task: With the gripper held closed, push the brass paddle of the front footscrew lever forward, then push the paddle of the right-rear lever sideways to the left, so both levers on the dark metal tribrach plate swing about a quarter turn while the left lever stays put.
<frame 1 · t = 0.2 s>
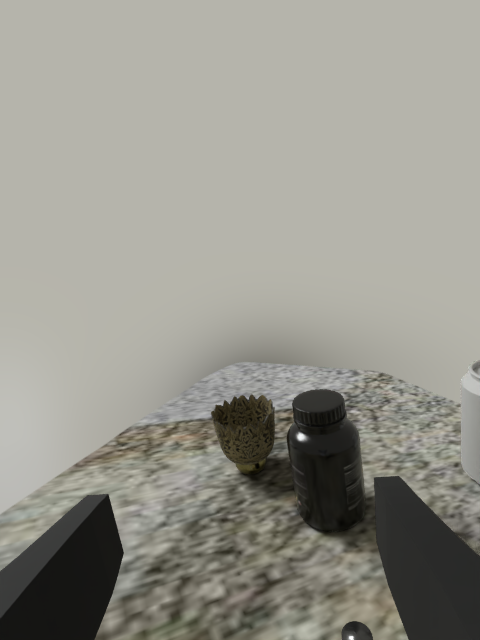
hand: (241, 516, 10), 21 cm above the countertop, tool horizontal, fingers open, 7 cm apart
cup: (251, 468, 48), on the countertop
supplement bottle: (330, 509, 39), on the countertop
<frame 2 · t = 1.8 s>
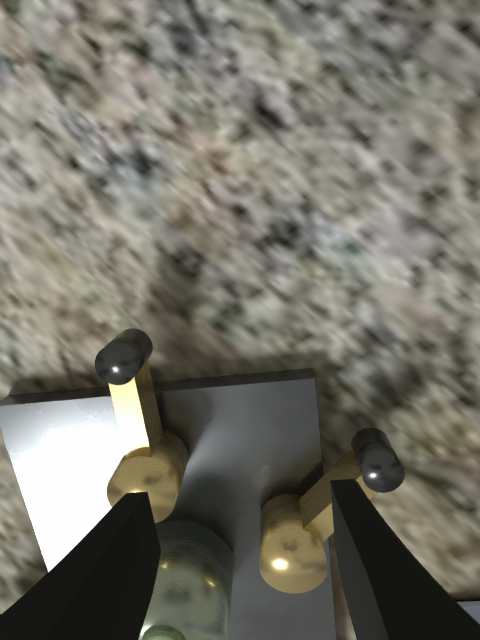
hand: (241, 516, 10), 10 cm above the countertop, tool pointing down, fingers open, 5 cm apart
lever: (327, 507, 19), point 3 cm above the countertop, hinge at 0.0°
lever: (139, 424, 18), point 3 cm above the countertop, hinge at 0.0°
tribrach plate: (187, 545, 24), on the countertop
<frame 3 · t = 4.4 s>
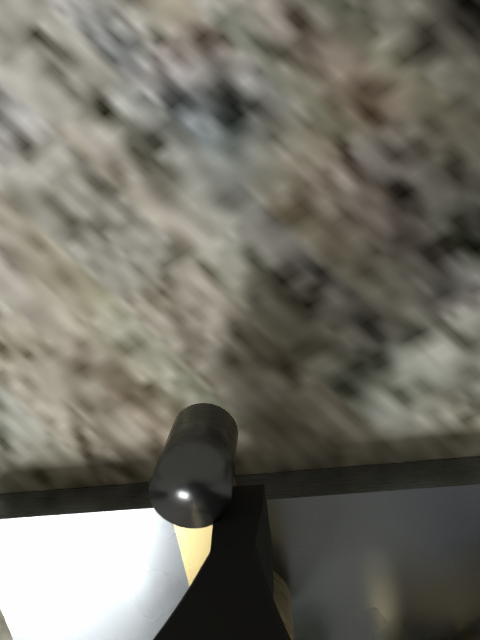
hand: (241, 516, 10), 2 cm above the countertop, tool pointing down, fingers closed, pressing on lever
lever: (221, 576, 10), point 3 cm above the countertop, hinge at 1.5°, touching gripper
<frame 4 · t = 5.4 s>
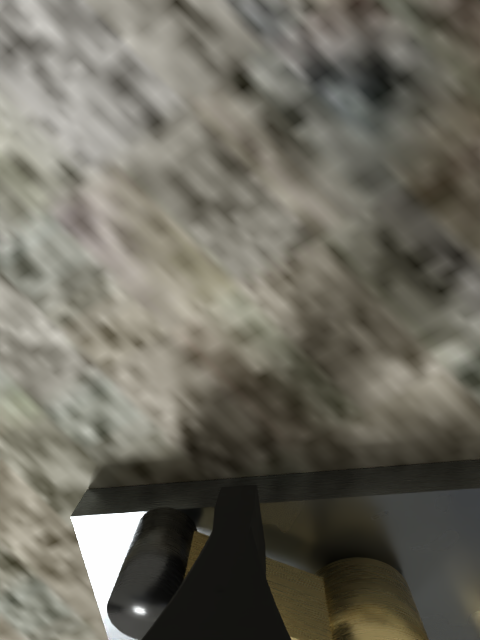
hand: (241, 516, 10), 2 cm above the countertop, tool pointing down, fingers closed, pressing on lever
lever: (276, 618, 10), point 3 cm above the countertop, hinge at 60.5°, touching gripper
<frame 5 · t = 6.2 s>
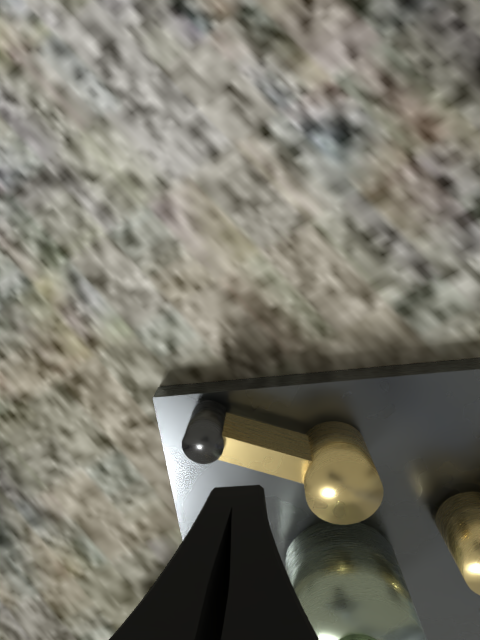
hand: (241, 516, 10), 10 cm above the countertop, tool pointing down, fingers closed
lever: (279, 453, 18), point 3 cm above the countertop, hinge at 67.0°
tribrach plate: (336, 546, 23), on the countertop
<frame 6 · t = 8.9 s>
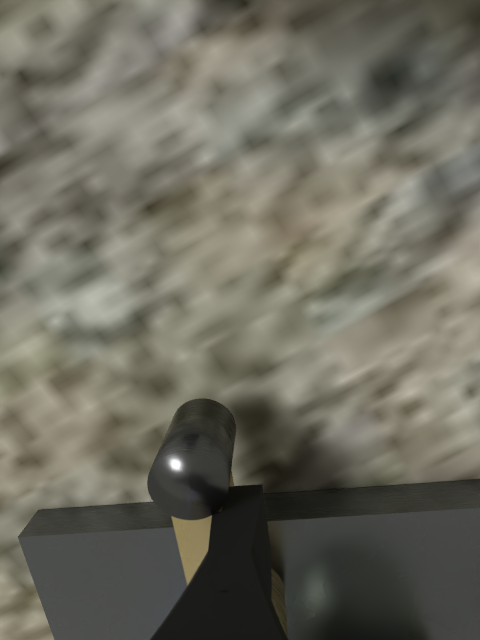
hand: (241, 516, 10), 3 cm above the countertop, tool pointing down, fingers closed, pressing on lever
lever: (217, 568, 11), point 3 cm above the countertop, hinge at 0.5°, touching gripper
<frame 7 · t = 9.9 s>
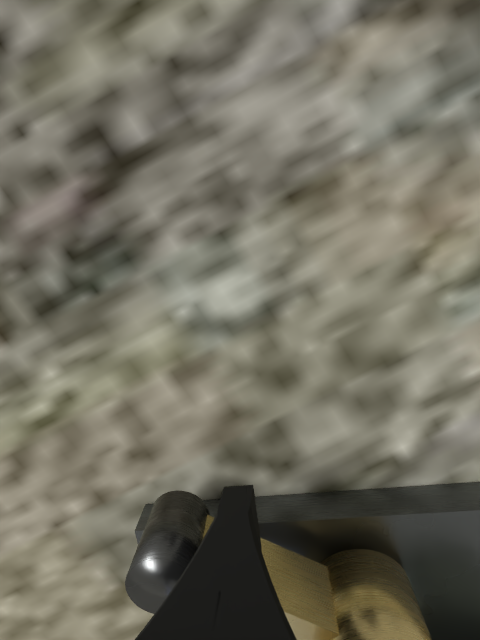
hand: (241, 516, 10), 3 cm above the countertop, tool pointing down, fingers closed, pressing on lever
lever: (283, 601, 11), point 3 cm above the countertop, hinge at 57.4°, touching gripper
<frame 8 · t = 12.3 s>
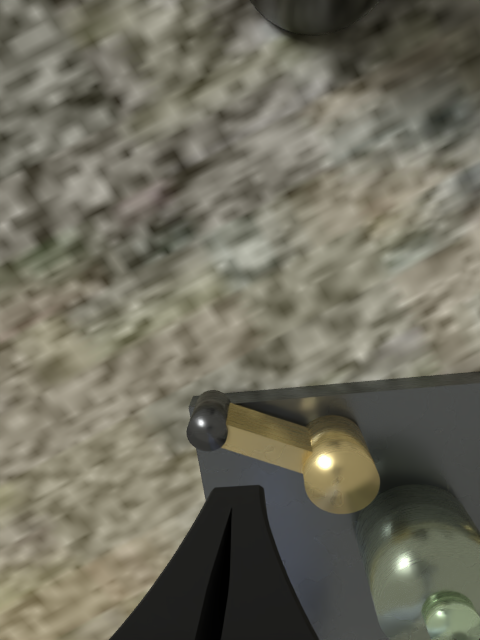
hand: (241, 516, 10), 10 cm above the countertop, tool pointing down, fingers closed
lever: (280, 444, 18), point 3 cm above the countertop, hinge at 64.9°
tribrach plate: (404, 513, 22), on the countertop
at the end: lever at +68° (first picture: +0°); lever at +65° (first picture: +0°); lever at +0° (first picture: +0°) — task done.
